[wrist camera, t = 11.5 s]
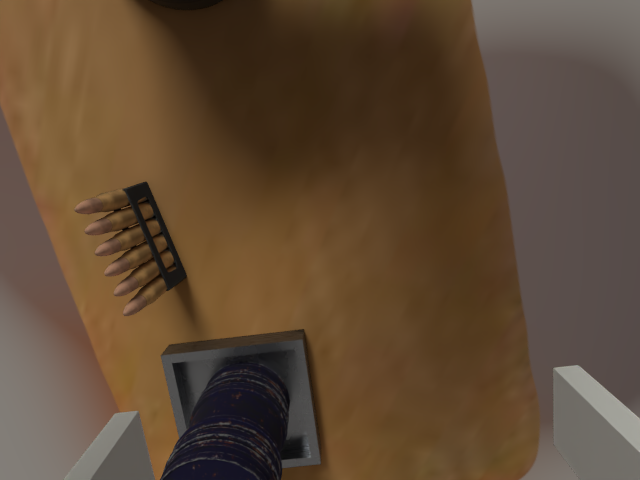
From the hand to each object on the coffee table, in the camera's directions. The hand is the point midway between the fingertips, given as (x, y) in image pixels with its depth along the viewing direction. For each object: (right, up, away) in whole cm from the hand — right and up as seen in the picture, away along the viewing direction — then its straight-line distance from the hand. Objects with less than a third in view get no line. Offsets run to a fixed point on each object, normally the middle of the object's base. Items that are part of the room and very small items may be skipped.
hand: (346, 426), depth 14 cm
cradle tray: (-9, -12, +35) cm, 38 cm away
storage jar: (-9, -12, +35) cm, 38 cm away
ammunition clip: (-18, +7, +31) cm, 37 cm away
